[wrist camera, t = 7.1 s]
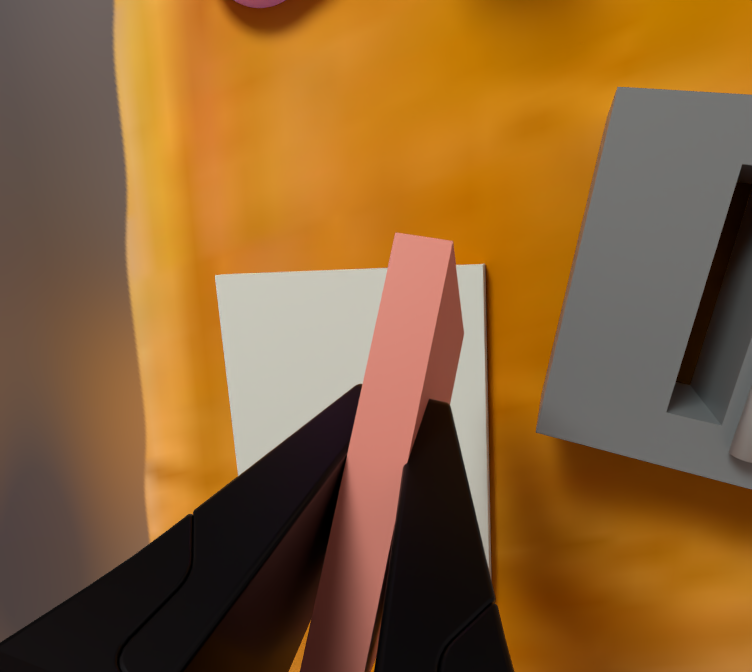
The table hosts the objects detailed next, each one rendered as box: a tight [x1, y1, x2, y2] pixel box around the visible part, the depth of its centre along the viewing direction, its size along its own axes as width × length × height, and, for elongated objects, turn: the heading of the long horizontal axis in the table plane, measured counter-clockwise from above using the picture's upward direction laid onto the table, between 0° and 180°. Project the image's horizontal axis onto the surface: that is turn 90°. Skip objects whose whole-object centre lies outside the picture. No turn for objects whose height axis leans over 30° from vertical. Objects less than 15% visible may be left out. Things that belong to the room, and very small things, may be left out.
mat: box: [215, 264, 491, 577], centre depth 23 cm, size 14×12×1 cm
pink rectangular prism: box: [300, 233, 464, 672], centre depth 11 cm, size 6×1×9 cm, turn 174°
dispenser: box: [536, 87, 752, 489], centre depth 15 cm, size 10×8×5 cm
